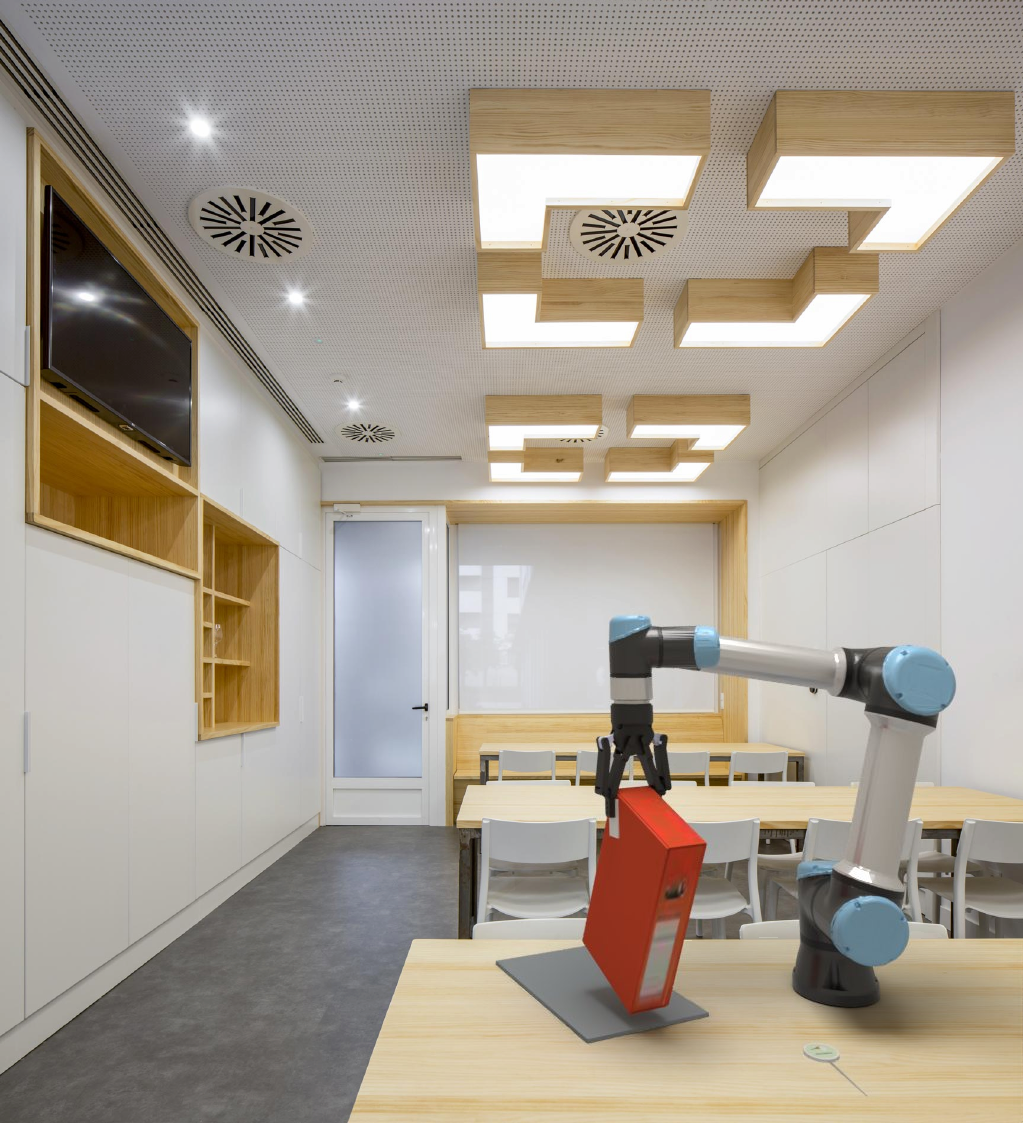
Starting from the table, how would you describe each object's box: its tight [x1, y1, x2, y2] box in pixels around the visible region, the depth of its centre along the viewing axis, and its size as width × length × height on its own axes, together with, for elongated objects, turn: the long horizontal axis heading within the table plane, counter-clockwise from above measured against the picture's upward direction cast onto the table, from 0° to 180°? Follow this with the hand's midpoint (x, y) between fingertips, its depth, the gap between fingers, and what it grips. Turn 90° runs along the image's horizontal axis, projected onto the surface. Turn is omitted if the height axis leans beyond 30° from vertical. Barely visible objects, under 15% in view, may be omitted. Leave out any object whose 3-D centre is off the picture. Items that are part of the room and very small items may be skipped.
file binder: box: [581, 785, 708, 1015], centre depth 140 cm, size 8×17×32 cm, turn 24°
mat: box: [495, 945, 710, 1044], centre depth 153 cm, size 24×38×1 cm, turn 24°
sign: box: [803, 1042, 868, 1097], centre depth 122 cm, size 5×1×15 cm
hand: (634, 834), depth 142 cm, fingers closed on file binder, 7 cm apart
